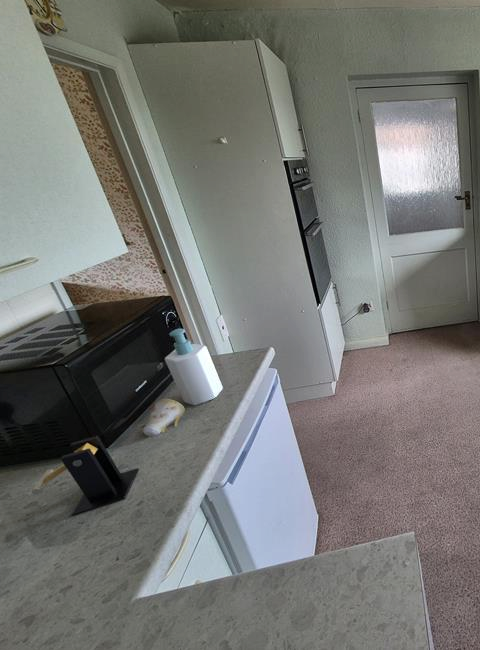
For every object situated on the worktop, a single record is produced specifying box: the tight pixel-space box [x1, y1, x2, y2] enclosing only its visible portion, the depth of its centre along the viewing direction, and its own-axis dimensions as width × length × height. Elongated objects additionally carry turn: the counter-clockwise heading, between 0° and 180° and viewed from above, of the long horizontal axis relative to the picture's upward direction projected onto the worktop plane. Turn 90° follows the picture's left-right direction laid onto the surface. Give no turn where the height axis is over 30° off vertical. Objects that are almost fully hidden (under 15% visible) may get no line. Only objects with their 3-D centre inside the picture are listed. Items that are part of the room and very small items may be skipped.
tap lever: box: [31, 443, 97, 495], centre depth 78 cm, size 11×6×2 cm, turn 112°
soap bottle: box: [164, 328, 224, 406], centre depth 111 cm, size 10×9×22 cm
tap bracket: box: [60, 435, 140, 517], centre depth 81 cm, size 9×9×14 cm
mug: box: [142, 398, 186, 437], centre depth 103 cm, size 8×10×10 cm
